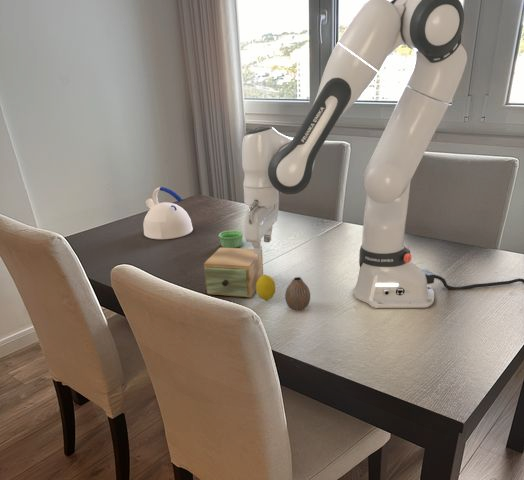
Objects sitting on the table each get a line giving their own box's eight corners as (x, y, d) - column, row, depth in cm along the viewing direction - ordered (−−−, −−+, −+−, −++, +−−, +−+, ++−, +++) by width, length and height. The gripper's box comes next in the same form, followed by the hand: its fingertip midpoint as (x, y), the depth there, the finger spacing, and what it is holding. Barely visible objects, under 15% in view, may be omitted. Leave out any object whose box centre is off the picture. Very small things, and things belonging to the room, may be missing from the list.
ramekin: (245, 241, 188) (244, 229, 185) (241, 249, 180) (241, 237, 178) (222, 241, 189) (221, 230, 186) (217, 249, 181) (216, 238, 179)
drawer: (246, 297, 142) (244, 272, 137) (205, 294, 145) (202, 269, 141) (259, 279, 153) (258, 255, 149) (221, 276, 156) (219, 253, 152)
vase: (303, 315, 132) (302, 285, 128) (281, 310, 136) (280, 281, 131) (314, 305, 137) (314, 276, 133) (293, 300, 141) (292, 272, 136)
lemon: (274, 305, 139) (273, 278, 135) (255, 304, 140) (253, 278, 136) (277, 296, 143) (276, 271, 139) (259, 296, 144) (257, 270, 140)
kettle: (168, 222, 215) (161, 179, 205) (203, 228, 204) (198, 184, 194) (133, 235, 201) (124, 190, 192) (168, 242, 190) (161, 195, 181)
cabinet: (250, 297, 144) (248, 266, 139) (207, 294, 147) (203, 263, 142) (263, 279, 155) (262, 249, 150) (222, 276, 159) (220, 247, 154)
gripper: (261, 207, 117) (263, 261, 124) (282, 186, 133) (283, 236, 141) (236, 206, 118) (240, 260, 126) (260, 186, 135) (262, 234, 142)
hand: (262, 247), depth 133 cm, fingers open, 8 cm apart
